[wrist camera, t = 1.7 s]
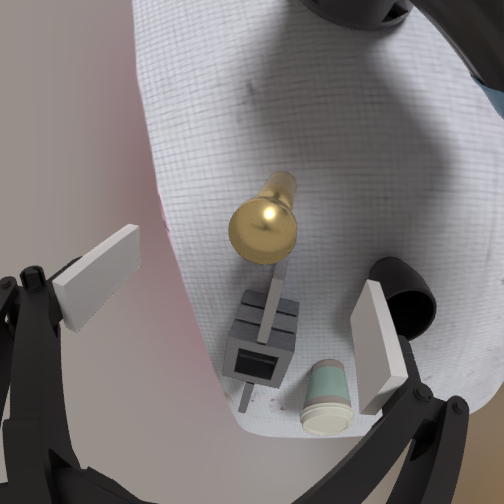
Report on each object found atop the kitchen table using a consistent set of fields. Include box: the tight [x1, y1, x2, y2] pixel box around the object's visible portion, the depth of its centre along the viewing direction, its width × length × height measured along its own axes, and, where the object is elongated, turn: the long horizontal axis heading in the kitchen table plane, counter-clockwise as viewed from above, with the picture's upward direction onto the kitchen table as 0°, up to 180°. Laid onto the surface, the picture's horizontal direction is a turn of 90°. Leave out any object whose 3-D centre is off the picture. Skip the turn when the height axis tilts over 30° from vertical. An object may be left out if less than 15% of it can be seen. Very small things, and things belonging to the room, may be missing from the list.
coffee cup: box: [300, 359, 354, 436], centre depth 40 cm, size 8×9×12 cm
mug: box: [369, 257, 436, 341], centre depth 32 cm, size 8×12×10 cm
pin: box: [228, 171, 297, 264], centre depth 26 cm, size 5×5×15 cm
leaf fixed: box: [222, 290, 299, 413], centre depth 40 cm, size 17×8×10 cm, turn 171°
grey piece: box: [235, 255, 298, 364], centre depth 35 cm, size 17×8×10 cm, turn 171°
